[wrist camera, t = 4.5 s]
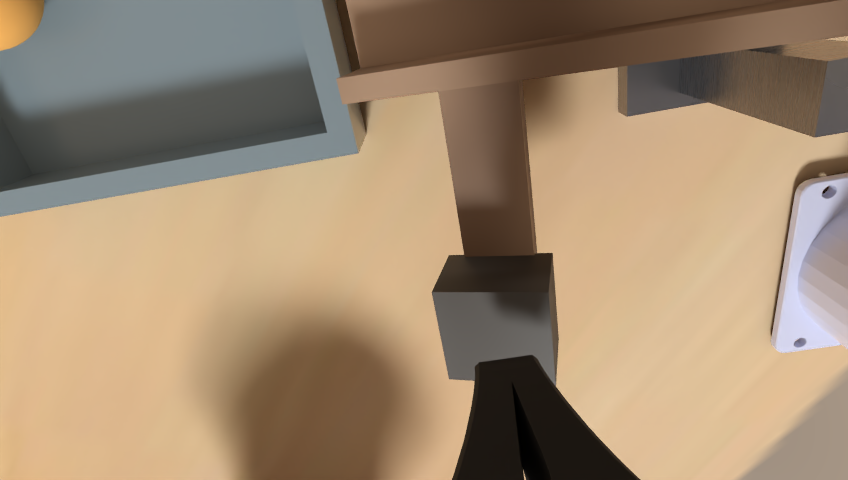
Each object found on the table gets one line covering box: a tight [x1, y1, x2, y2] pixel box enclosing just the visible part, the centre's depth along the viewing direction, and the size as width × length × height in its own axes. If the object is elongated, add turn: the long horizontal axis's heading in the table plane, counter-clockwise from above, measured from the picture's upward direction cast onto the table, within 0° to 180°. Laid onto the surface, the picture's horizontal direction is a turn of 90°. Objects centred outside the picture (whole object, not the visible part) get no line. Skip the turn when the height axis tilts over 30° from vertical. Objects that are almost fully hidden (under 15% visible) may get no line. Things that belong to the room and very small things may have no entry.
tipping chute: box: [336, 0, 848, 386], centre depth 9 cm, size 20×17×3 cm
